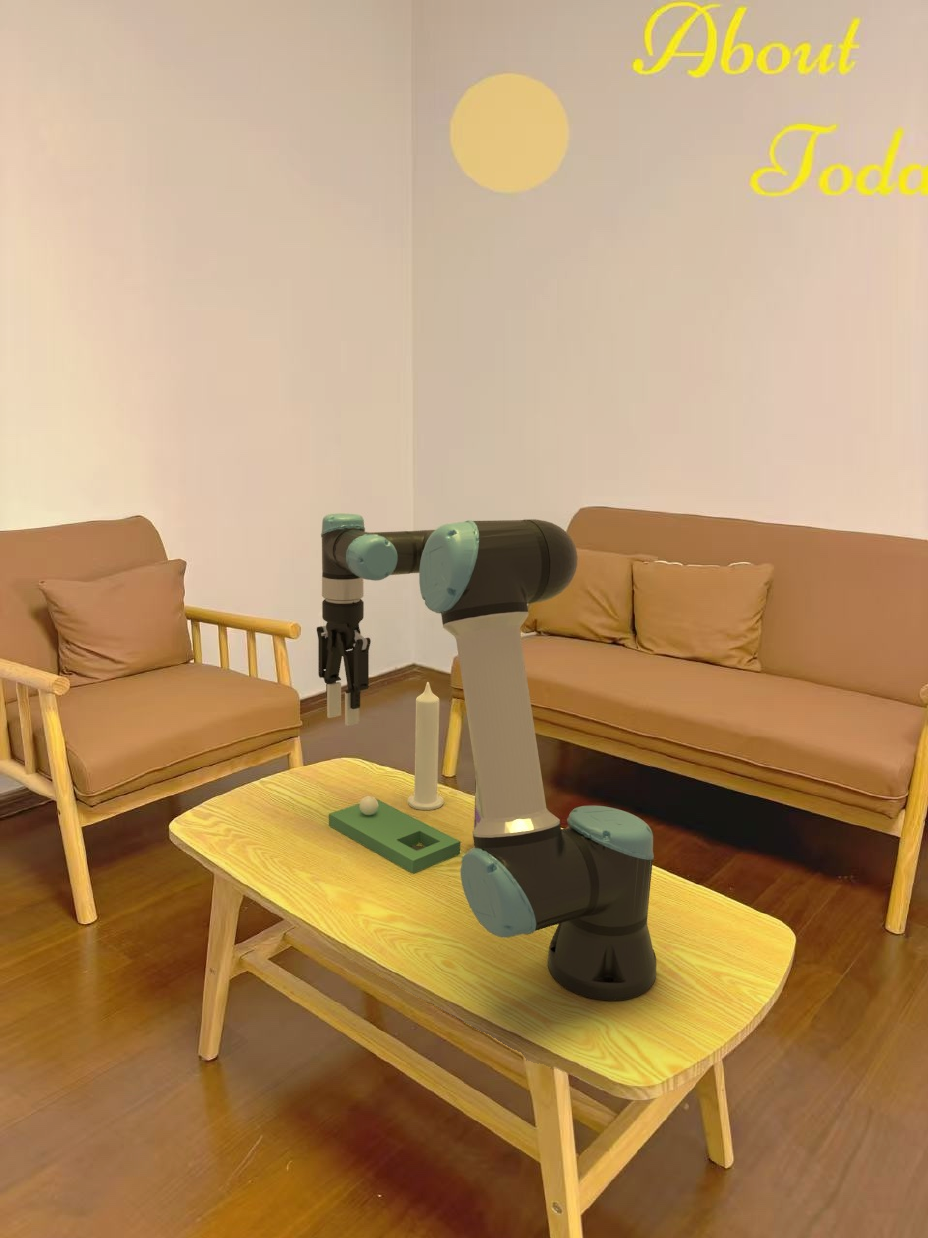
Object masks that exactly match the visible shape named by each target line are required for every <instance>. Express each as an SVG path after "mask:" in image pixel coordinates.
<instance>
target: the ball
mask: <svg viewBox="0 0 928 1238" xmlns="http://www.w3.org/2000/svg"><path fill="white" fill-rule="evenodd" d="M375 798H376V797H374V796H372V795H371V796H370V795H368V796H367V795H366V796H364V797H362V799H361V800H360V801H359V803H360V805H359V807H360V810H361V812H362V813H363V814H365V815H372V814H374V813H375V812H376V811H377V810H378V802H377V800H376V799H377V798H376V799H375Z"/></svg>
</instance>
